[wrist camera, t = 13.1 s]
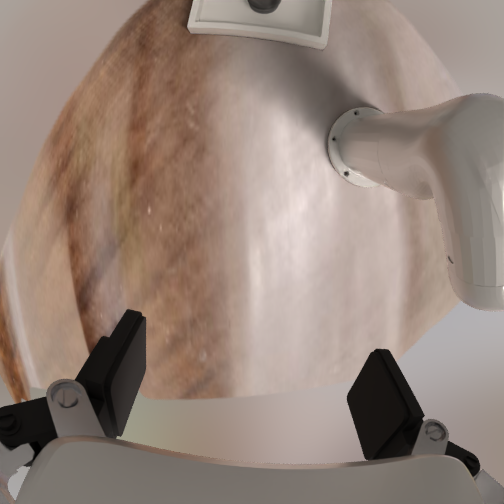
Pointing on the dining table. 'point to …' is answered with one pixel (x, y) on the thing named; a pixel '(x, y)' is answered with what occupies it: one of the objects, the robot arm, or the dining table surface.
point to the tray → (264, 21)
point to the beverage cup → (264, 5)
